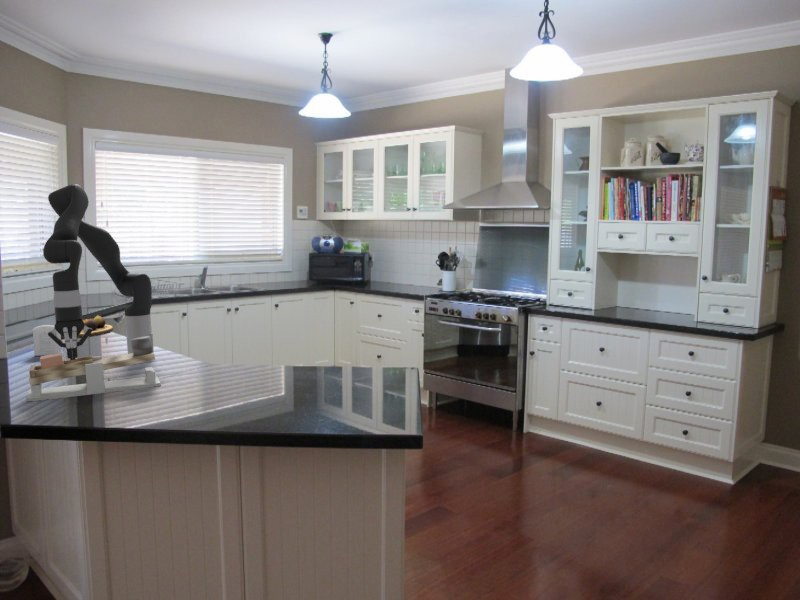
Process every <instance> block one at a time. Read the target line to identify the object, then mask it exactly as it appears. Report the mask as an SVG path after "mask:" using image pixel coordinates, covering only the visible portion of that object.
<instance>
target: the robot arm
mask: <svg viewBox="0 0 800 600" xmlns="http://www.w3.org/2000/svg"><path fill="white" fill-rule="evenodd" d="M47 198H48V199H47V200H48V203H49V205H50V206H51V208H52V210H53V211H54V212H55V213H56V214H57V215H58V219H56V221H55V223H54V227H53V232H52V234H51V236H50V237H49V238H48V239H47V240H46V242H45V244H44V246H43V251H42V252H43V253H42V254H43V257H44V259H45V260H46V262H48V263H50V264H69V266H68V268H66V269H62V270H59V271H55V272H53V274H52V284H53V285H52V286H53V307H54V316H55V324H54V329H53V330H52V331H50V332H48V336H49V337H50V338H52V339H53V340H54V341H55V342H56V343H57V344H58V345H59V346H60V347H61V348H65V349H66V355H67V356H66V357H67V358H68V359H67V360H69V359H70V360H75V358H78V347H80V346H83V344H84V343H85V341H87V339H88V338H89V337H90V336H89V335H90V333H91V332H92V329H91V328H88V327H87V326H85V323H84V322H83V320H84V319H83V310H82V299H81V293H80V287H79V269H80V263H81V259H82V254H83V247H82V244H81V243H80V242H79V241H78V238H79V240H80V241H81V242H82V243H83V245H84V246H85V247H86V249H87V250H88V251H89V253H90V254H92V256H93V257H94V258H95V260H96V261H97V262H98V263H99V264H100V265H101V267H102V268H103V269H104V271H105V272H106V273H107V275H108V276H109V278H110V280H111V281H112V282H113V284H114V285H115V287H116V289H117V290H118V291H119V293H120V294H121V295H122V296H124V297H128V298H132V304H131V305H129V306H126V307H125V308H124V323H125V333H126V348H127V354H130V353H133V350H132V345H131V340H132V339H134V338H138V337H145V336H149V337H150V339H151V344H152V350H153V353H154V354H155V351H154V349H155V348H154V336H153V333H152V332H153V331H152V318H151V316H152V315H151V309H152V305H153V303H152V301H153V298H152V297H153V296H152V295H153V294H152V293H153V292H152V291H153V290H152V281H151V278H150V277H149V276H148V275H147V274H146V273H139V272H138V273H137V272H135V273H134V272H133V273H132V272H130V271H129V270H127V268H126V267H125V266H124V265H123V263H122V262H121V250H120V249H121V248H120V246H119V244H118V243H117V241H116V240H115V239H114V237H113V236H112V235H111V233H110V232H108V231H107V230H106V229H104V228H102V227H99V226H97V225H95V224H93V223H90V222H88V221H85V220H84V216H85V214H86V211H87V209H88V206H89V197H88V194H87V193H86V191H85V190H84V188H83V187H82V186H81V185H79V184H77V183H73V184H68V185H66V186H64V187H61V188H59V189H56V190H54V191H52V192H50V193H49V194H48V197H47ZM82 329H84V331H83V332H84V333H85V334H84V335H83V336H82V337H80V339H79V340H78V341H77V339H78V338H77V336H78V335H79V334H80V332H81V331H82ZM56 331H57V332H58V333H59V334H60V335H61V336H62V337H65V338H64V341H65V342H63V340H62V339H61V340H60V339H59V338H58V337H57V333H56ZM88 336H89V337H88ZM69 337H72V338H69ZM71 341H72V342H71ZM71 343H72V345H71Z"/></svg>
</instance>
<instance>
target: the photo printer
mask: <svg viewBox="0 0 800 600" xmlns="http://www.w3.org/2000/svg"><path fill="white" fill-rule="evenodd" d="M54 326H55V324H54V325H52V324H42V325H38V326H35V327H33V328H32V329H33V330H32V336H33V337H32V338H33V339H32V340H33V350H34V352H33V353H34V356H35V357H41V356H46V355H51V354H57V353H62V354H63V350H62V348H63V347H60V346H59V345H58V344H57V343H56V342H55V341H54V340H53V339H52V338H50V337H49V336H48V332H50V331H52V330H53V329H54ZM56 333H57V337H58V338H59V339H60V340H61V341H62V338H61V335H60V334H59V333H58V332H57V331H56Z"/></svg>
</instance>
